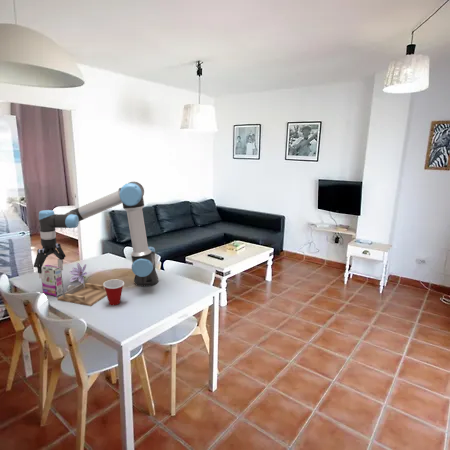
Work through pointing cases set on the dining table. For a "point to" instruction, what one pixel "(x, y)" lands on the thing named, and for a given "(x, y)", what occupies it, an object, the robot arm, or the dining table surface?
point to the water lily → (78, 273)
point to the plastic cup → (114, 291)
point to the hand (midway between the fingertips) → (51, 274)
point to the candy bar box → (52, 280)
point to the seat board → (83, 294)
